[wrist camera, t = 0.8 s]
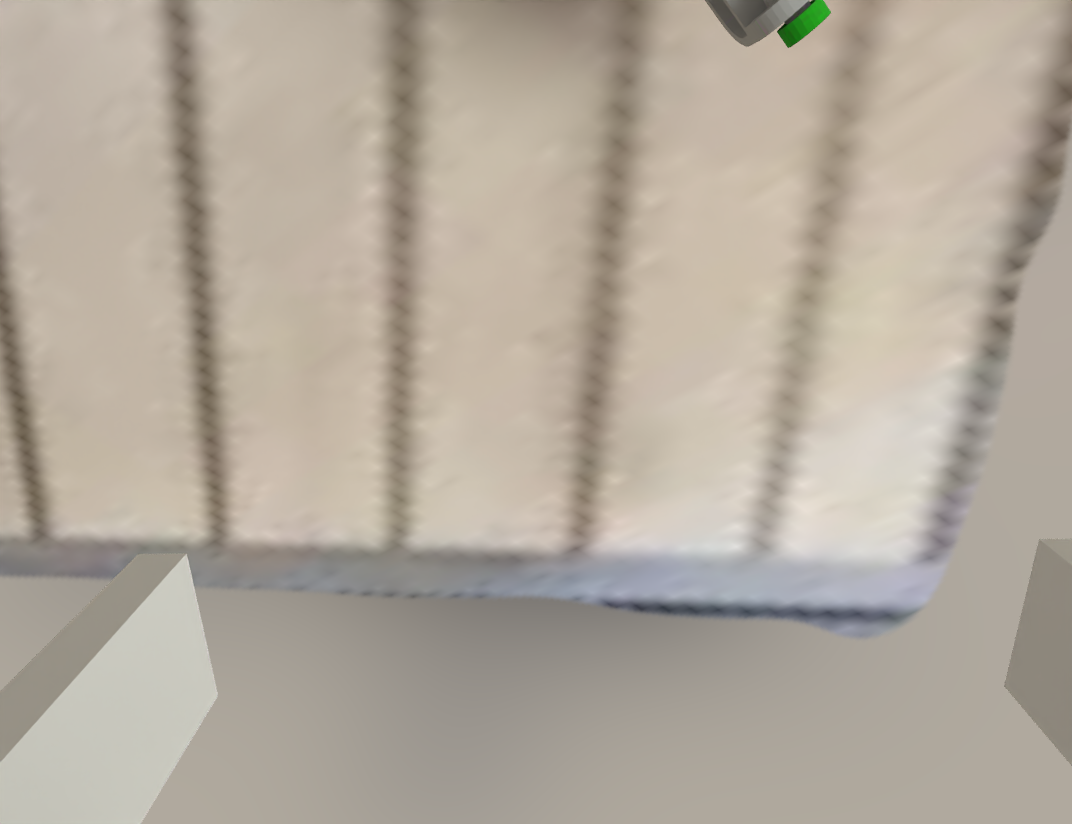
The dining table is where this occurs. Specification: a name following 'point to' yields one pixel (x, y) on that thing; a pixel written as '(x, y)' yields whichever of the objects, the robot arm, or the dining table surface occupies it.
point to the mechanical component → (769, 18)
